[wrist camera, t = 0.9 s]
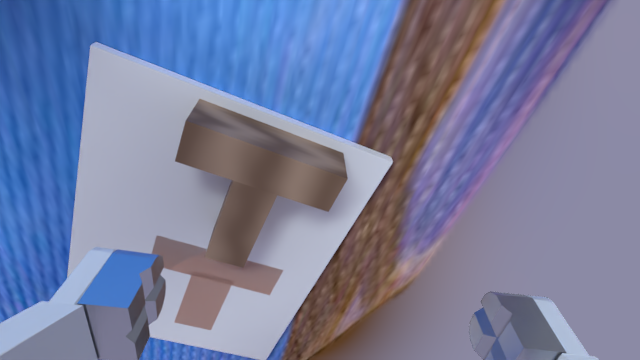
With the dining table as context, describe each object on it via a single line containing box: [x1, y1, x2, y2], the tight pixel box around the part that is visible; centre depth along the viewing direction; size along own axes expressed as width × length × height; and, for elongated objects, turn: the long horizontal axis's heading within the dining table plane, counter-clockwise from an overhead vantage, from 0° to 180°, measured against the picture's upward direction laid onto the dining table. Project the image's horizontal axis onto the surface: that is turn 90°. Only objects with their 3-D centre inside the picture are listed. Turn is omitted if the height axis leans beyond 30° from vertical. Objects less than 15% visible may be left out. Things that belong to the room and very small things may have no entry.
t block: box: [175, 99, 348, 268], centre depth 35 cm, size 14×14×4 cm
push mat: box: [67, 42, 393, 360], centre depth 43 cm, size 28×38×1 cm
